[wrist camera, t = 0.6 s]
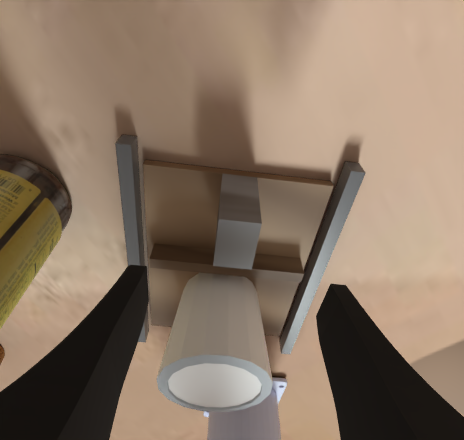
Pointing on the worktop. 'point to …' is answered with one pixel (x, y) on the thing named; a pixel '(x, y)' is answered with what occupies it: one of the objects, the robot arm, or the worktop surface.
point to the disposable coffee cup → (1, 354)
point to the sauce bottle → (27, 225)
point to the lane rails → (317, 262)
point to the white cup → (216, 347)
